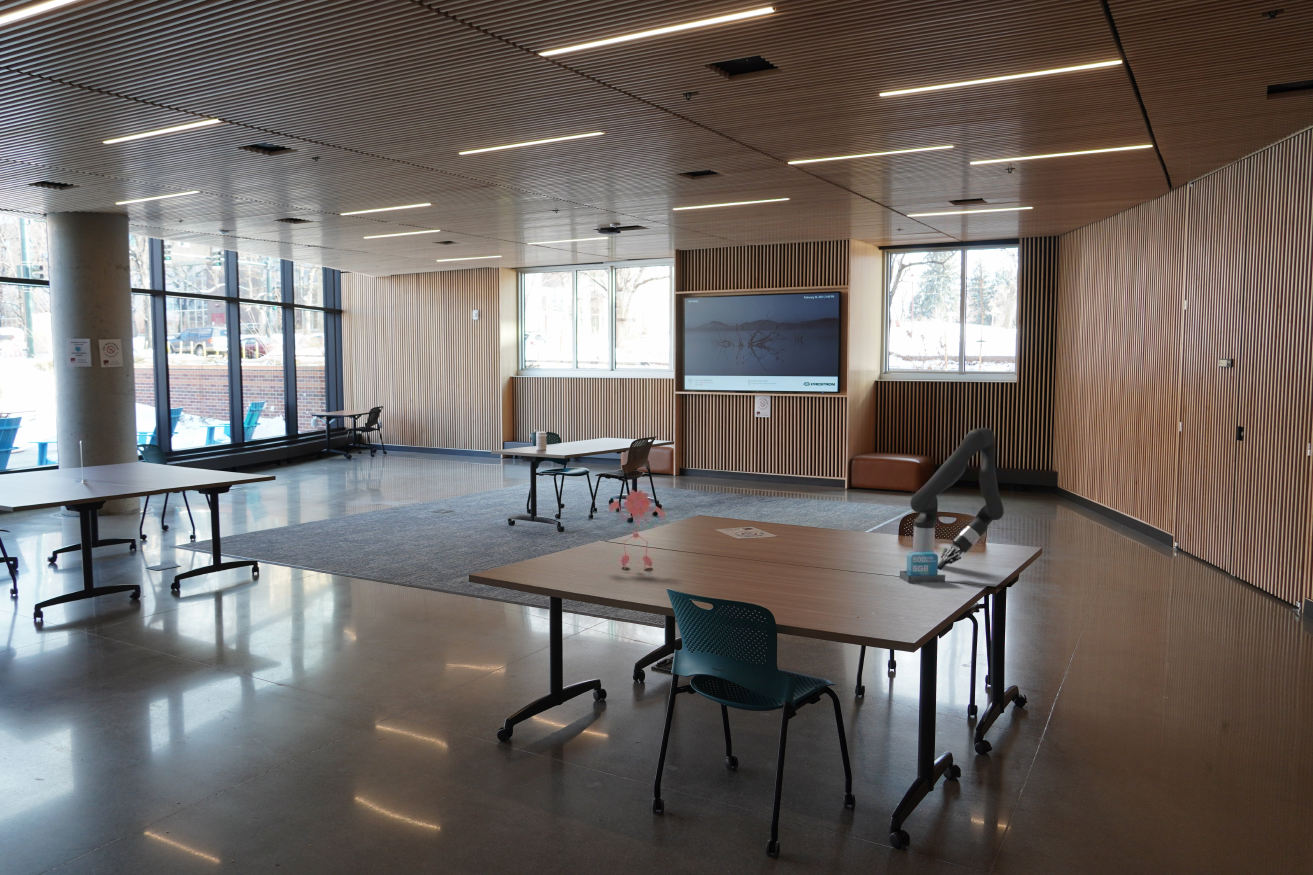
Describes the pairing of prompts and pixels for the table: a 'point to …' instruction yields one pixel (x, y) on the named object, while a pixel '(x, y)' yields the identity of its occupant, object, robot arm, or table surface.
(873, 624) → the table surface
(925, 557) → the data package
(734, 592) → the table surface
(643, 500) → the pink fuzzy puppet
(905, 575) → the keeper bracket
